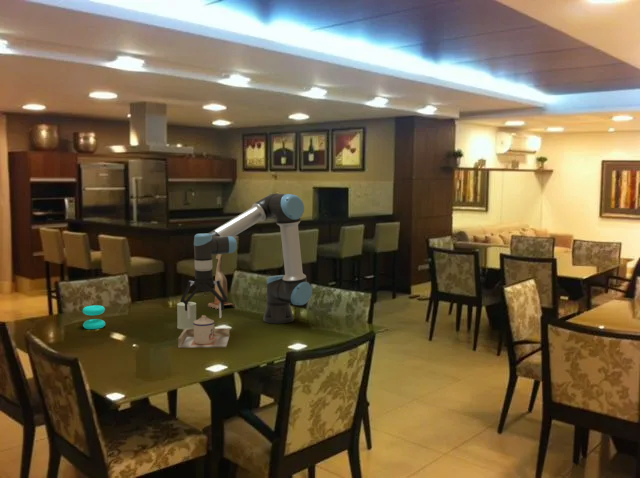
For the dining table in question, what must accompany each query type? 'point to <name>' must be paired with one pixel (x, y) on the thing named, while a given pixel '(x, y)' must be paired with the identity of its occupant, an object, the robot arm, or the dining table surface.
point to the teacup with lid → (203, 330)
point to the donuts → (94, 322)
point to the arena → (188, 342)
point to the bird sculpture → (223, 282)
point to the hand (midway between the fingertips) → (204, 317)
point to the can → (186, 316)
